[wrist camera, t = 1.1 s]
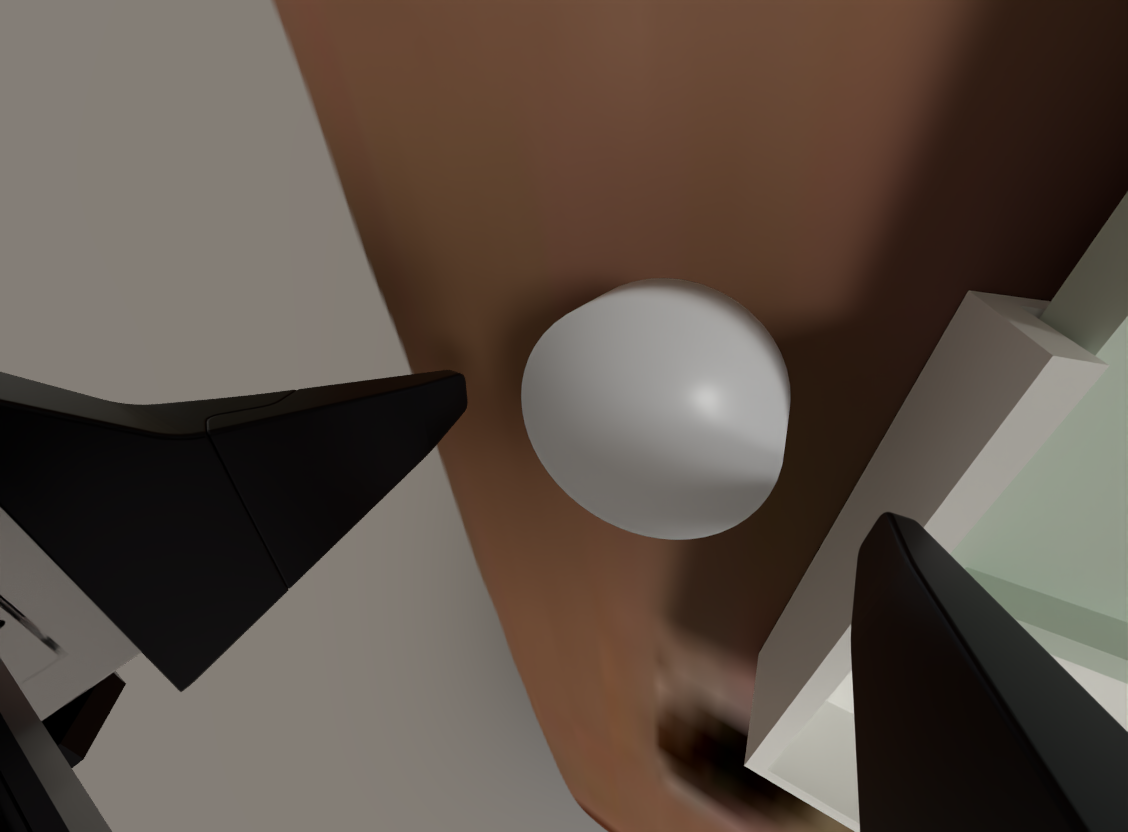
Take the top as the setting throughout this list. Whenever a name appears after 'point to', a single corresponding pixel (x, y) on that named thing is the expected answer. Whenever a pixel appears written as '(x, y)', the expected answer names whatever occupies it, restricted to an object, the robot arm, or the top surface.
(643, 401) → the dome
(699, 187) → the top surface
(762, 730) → the shallow white bin
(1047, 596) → the drawer
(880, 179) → the top surface
